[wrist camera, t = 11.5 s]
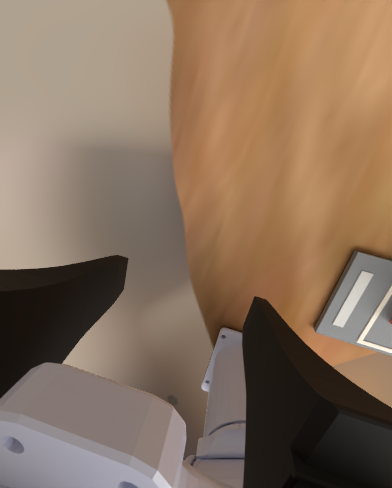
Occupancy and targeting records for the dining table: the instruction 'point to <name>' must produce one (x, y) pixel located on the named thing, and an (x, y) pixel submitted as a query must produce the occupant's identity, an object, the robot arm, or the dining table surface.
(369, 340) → the sheet board
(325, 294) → the dining table surface
